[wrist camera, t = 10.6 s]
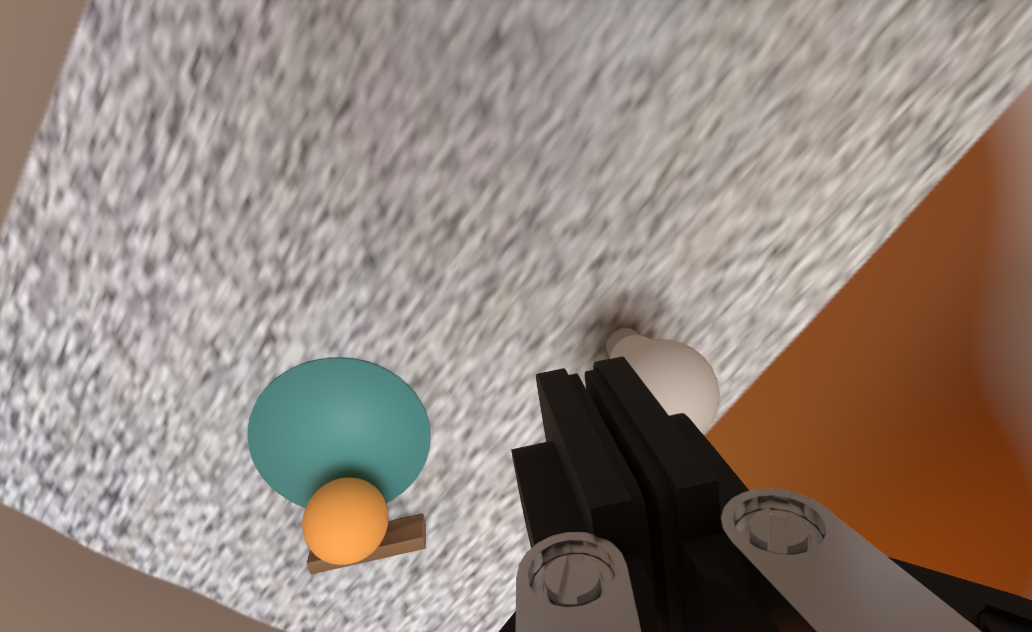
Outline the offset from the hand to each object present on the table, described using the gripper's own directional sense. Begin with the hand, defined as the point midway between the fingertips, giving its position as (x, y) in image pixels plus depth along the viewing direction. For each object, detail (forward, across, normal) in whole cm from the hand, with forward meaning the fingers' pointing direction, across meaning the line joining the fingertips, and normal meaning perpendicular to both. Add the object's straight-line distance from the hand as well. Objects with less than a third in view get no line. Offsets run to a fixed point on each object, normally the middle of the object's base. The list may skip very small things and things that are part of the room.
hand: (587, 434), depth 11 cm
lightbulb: (+27, -8, +11) cm, 31 cm away
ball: (+24, +12, +19) cm, 33 cm away
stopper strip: (+27, +12, +22) cm, 37 cm away
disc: (+27, +12, +14) cm, 33 cm away
